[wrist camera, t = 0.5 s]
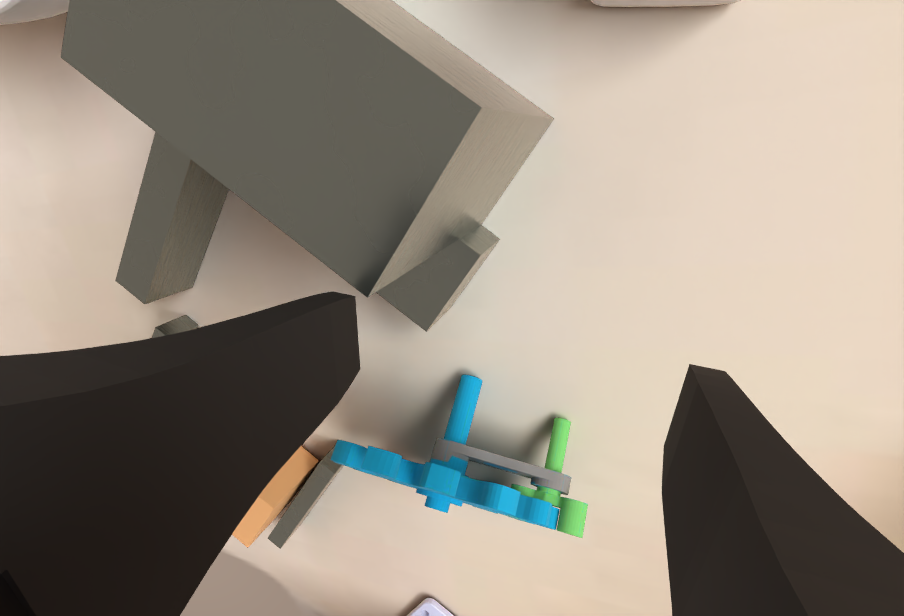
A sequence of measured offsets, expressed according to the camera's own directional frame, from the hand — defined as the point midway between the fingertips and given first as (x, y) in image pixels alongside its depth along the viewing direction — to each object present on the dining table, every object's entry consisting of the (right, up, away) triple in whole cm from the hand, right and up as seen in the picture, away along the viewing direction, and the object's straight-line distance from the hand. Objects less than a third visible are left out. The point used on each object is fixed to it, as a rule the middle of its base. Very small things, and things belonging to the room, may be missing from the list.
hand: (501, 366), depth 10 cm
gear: (0, -5, +14) cm, 15 cm away
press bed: (-9, +2, +15) cm, 17 cm away
